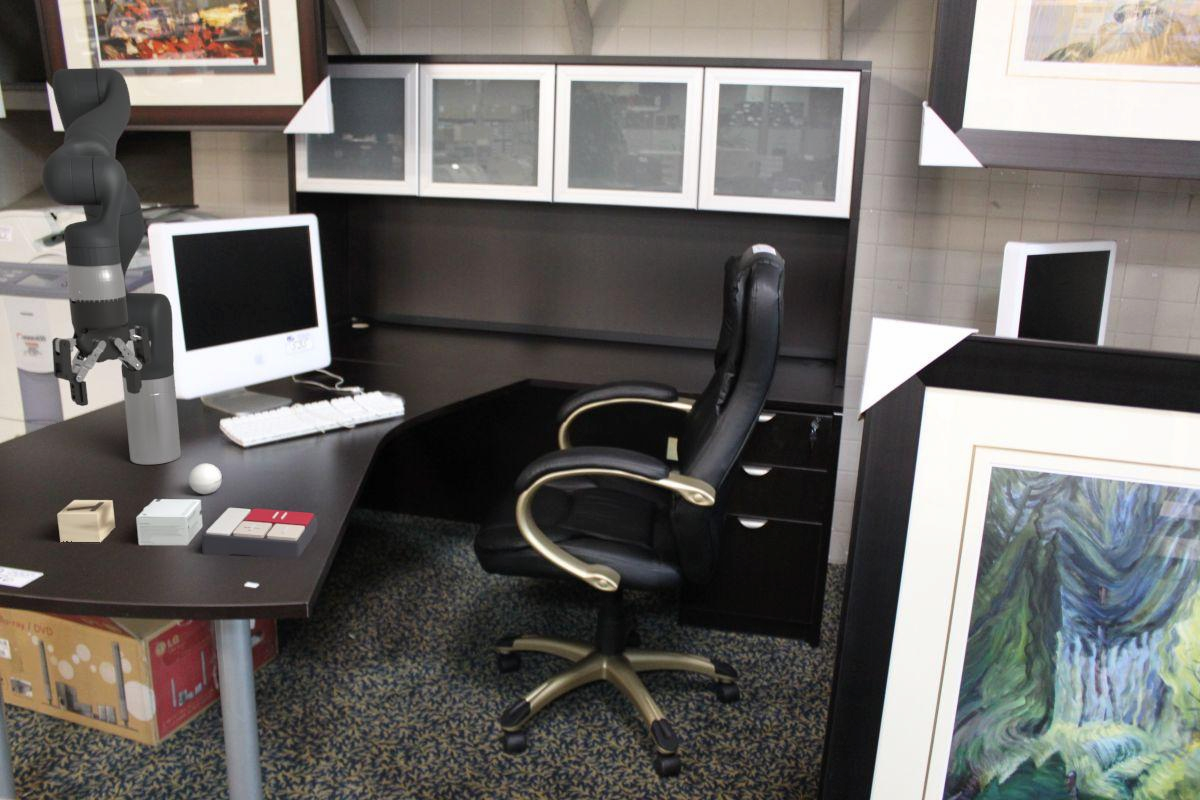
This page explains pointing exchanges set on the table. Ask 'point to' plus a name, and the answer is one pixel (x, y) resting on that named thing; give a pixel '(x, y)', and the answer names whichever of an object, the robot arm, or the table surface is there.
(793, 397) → the table surface
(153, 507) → the small box
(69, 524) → the numbered block
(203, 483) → the white ball
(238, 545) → the calculator
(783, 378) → the table surface
